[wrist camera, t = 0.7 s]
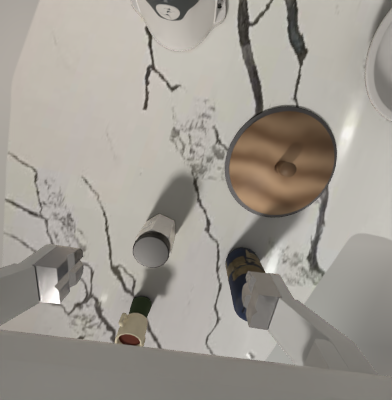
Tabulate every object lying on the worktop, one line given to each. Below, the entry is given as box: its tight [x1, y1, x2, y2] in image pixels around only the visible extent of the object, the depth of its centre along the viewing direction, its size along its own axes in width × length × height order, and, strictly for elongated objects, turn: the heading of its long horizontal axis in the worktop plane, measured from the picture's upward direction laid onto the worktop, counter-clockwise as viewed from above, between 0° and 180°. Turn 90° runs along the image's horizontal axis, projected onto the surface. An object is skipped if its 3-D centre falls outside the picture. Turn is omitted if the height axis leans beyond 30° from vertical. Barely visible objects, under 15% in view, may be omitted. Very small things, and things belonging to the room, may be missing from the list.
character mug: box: [115, 297, 152, 347], centre depth 56 cm, size 11×7×13 cm, turn 29°
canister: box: [226, 248, 265, 321], centre depth 48 cm, size 10×10×18 cm
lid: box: [229, 111, 334, 215], centre depth 46 cm, size 25×25×5 cm
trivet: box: [225, 107, 337, 217], centre depth 48 cm, size 27×27×1 cm
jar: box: [133, 214, 175, 268], centre depth 49 cm, size 9×8×12 cm
